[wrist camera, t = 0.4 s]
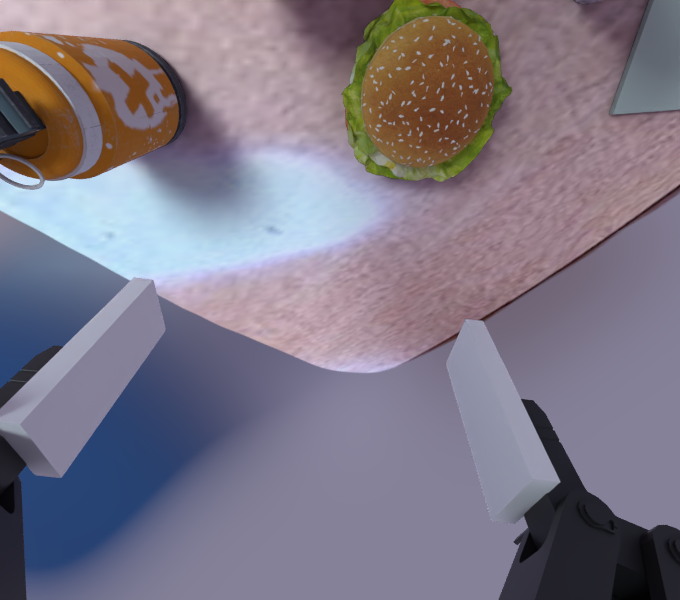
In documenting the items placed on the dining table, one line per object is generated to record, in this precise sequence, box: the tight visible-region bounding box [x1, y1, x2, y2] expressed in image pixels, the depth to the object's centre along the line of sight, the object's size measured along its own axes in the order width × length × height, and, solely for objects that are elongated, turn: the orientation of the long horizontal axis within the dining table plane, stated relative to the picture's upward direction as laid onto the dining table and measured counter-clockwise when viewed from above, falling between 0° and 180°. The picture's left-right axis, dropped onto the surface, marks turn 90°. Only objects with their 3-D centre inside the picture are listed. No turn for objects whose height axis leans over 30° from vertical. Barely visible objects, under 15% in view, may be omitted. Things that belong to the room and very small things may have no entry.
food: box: [342, 0, 512, 182], centre depth 29 cm, size 14×14×8 cm
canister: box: [0, 31, 186, 190], centre depth 25 cm, size 9×11×20 cm
